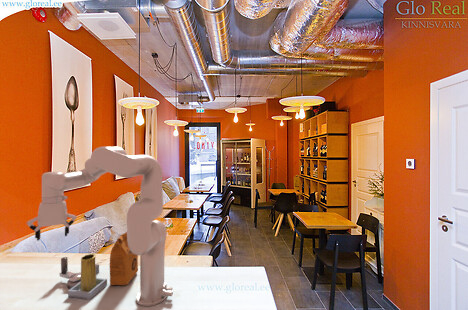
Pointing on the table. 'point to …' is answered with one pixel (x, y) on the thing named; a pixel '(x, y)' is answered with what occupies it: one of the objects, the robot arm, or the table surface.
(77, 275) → the crank
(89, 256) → the vase
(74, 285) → the disc
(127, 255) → the coffee package
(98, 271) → the post
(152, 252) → the robot arm
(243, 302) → the table surface
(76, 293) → the tray
